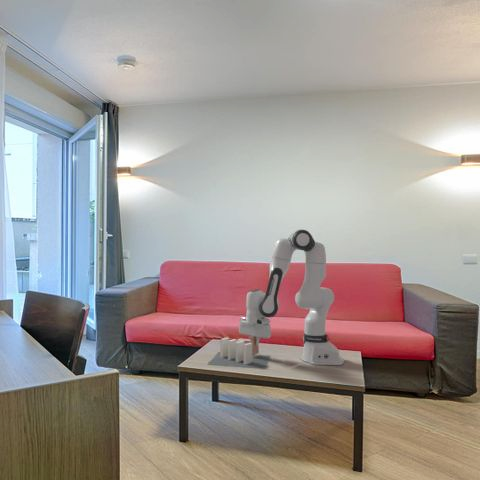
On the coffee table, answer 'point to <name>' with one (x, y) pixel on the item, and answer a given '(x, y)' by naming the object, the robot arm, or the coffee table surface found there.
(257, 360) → the domino mat
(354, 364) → the coffee table surface
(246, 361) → the domino
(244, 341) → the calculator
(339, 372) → the coffee table surface
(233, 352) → the domino
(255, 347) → the domino
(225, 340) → the domino
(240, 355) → the domino
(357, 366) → the coffee table surface
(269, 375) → the coffee table surface
